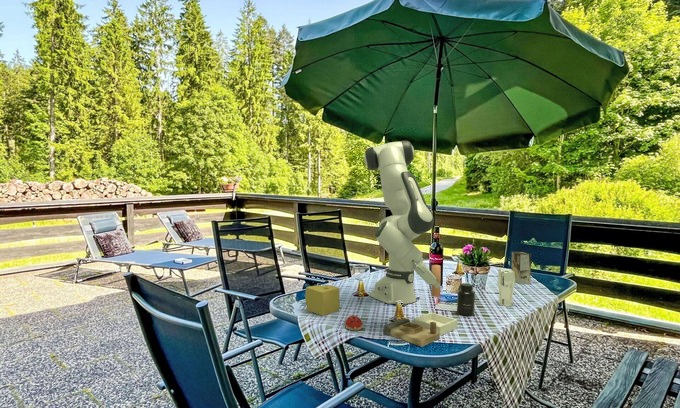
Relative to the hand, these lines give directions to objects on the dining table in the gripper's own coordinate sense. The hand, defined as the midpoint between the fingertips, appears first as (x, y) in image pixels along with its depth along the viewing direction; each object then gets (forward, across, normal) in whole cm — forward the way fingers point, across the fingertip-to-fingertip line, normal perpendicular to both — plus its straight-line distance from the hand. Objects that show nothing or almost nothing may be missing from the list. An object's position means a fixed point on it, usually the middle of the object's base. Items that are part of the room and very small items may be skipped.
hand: (437, 285), depth 142 cm
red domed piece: (-10, -1, +33) cm, 35 cm away
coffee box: (+53, +74, -31) cm, 96 cm away
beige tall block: (+37, +32, -14) cm, 51 cm away
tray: (+11, 0, +12) cm, 16 cm away
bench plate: (+4, -8, +19) cm, 21 cm away
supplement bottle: (+22, +18, +1) cm, 28 cm away
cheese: (-20, +16, +42) cm, 49 cm away
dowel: (+2, 0, +3) cm, 4 cm away
